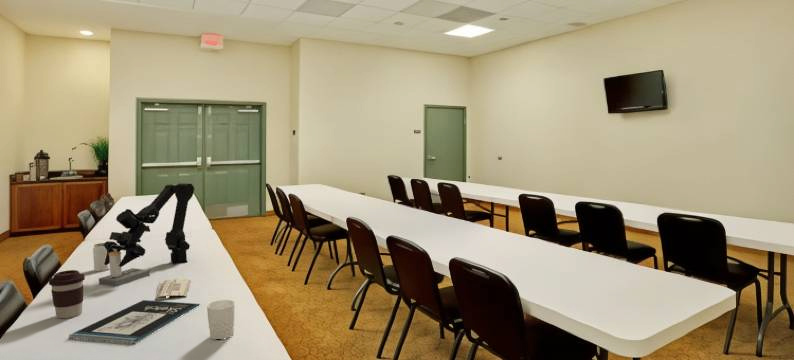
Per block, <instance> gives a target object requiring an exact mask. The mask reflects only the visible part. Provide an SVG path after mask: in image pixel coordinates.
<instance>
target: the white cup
mask: <svg viewBox="0 0 794 360" xmlns="http://www.w3.org/2000/svg"><path fill="white" fill-rule="evenodd" d="M235 306H236V305H235V301H233V300H231V299H220V300H215V301H212V302H210V303H207V305H206V310H207V321H208V328H209V337H211V338H213V339H224V338H227V339H229V338H228V337H230V336H231V337H233V336H234V329H235V328H234V327H235ZM232 335H233V336H232ZM231 337H230V338H231ZM211 338H210V339H211ZM213 339H212V340H213ZM224 340H225V339H224Z"/></svg>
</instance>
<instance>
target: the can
mask: <svg viewBox="0 0 794 360" xmlns="http://www.w3.org/2000/svg"><path fill="white" fill-rule="evenodd" d="M104 243H105V242H100V243H96V244H94V245H93V248H92V256H93V269H94V271H95V272H105V271H110V263H109V264H108V265H105V264H104V263H105V259H106V256H107V249H105V247H104V246H103V245H104Z"/></svg>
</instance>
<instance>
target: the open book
mask: <svg viewBox="0 0 794 360" xmlns="http://www.w3.org/2000/svg"><path fill="white" fill-rule="evenodd" d="M190 283H191V284H192V279H190V278H189V279H188V278H175V279H174V278H173V279H166V280H164V281H163V282H159V284H158V287H157V289H156V295H155V301H161V300H167V299H166V296H170V297H171V296H172V297H175V296H176V297H177V296H182V297H185V296H188V294H187V293H189V290H190V286H191V284H190Z"/></svg>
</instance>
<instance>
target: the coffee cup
mask: <svg viewBox="0 0 794 360" xmlns="http://www.w3.org/2000/svg"><path fill="white" fill-rule="evenodd" d="M84 280H86V279H85V274H84V273H80V271H79V270H77V269H74V270H73V269H70V270H64V271H63V270H62V271H59V272H56V273H55V274H54V275H53V277H51V278H49V280H48V285H49V286H51V296H52V302H53V307H54V310H55V316H56V318H57V317H58V319H60V318H65V319H71V318H75V317H77V316H79V315H81V314H82V313H83V302H84V283H83V282H84ZM70 317H71V318H70Z"/></svg>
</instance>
